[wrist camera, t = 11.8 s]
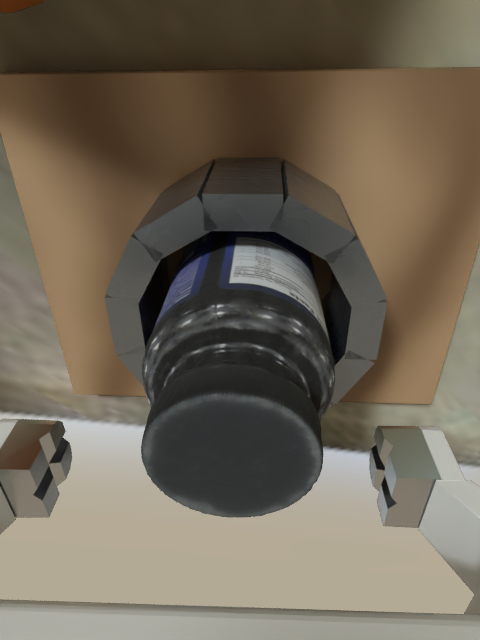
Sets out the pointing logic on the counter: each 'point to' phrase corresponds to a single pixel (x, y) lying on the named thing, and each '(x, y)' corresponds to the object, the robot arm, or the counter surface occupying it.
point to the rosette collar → (251, 215)
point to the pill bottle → (238, 377)
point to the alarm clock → (17, 5)
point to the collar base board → (253, 141)
